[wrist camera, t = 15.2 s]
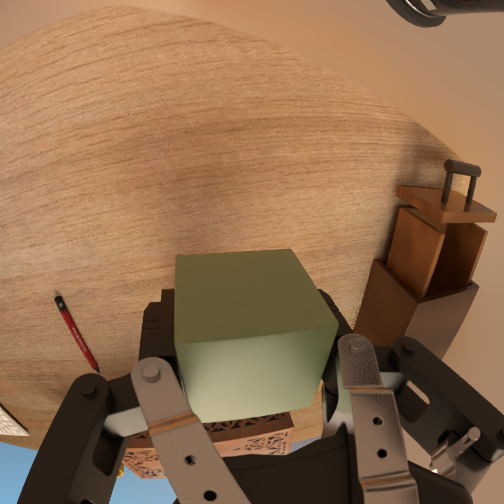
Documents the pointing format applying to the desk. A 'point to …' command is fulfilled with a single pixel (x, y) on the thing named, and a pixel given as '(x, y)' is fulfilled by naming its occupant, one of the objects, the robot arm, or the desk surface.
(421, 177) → the desk surface
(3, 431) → the keyboard
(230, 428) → the tissue box cover
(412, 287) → the drawer
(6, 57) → the desk surface
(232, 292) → the block
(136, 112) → the desk surface
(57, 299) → the pencil
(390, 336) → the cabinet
